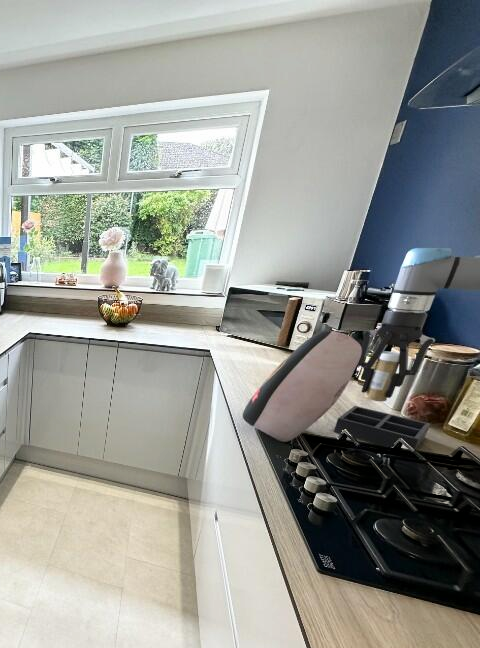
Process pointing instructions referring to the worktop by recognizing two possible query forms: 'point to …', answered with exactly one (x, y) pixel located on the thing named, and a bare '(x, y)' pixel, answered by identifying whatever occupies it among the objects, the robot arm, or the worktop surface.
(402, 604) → the worktop surface
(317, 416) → the pinkish grey rounded block
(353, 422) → the grid
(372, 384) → the sprinkles bottle
